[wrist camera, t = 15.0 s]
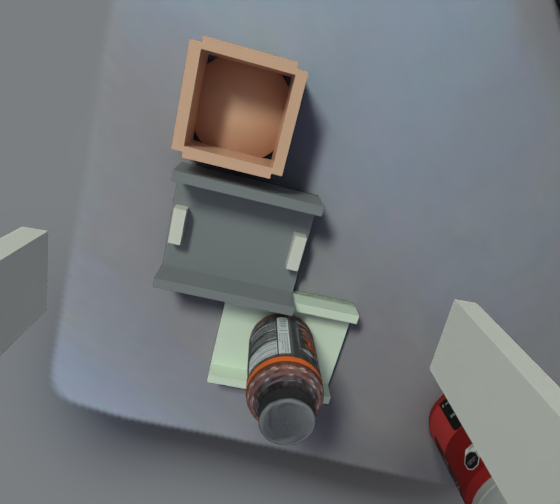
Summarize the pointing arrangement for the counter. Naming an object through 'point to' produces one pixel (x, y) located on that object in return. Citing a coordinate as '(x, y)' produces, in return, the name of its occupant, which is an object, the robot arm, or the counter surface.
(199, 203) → the checker cradle
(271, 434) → the supplement bottle
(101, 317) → the counter surface
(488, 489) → the canned food
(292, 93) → the open cardboard box
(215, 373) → the trough
